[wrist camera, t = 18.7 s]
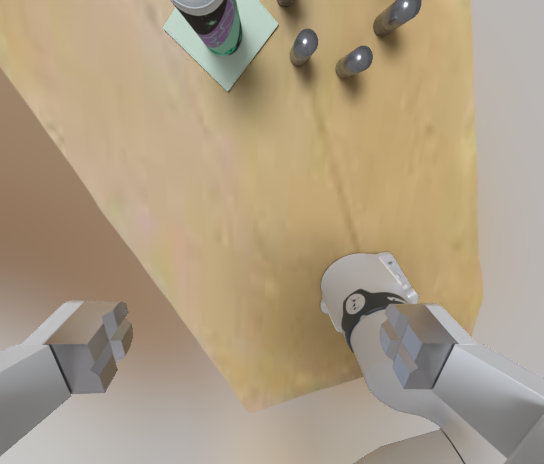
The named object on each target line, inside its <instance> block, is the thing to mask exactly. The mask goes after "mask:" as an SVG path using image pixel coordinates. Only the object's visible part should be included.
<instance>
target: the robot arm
mask: <svg viewBox="0 0 544 464" xmlns="http://www.w3.org/2000/svg"><path fill="white" fill-rule="evenodd" d="M390 261H391V262H390ZM388 262H390V263H388ZM321 292H322V300H321V303H320V308H321V310H322V312H324V313H326V314H328V315H329V316H330V318H331V320H332V323H333V325H334V327H335V329H336V330H337V331H338V332H341V333H342V334H344V338H345V340H346V342H347V344H348V345H349V347H350V349H351V351H352V352H353V353H354V354H355V356H356V359H357V361H358V364H359V366H360V369H361V371H362V374H363V377H364V379H365V381H366V384H367V386H368V388H369V390H370V391H371V392H372V394H373V395H374V396H375V397H376V398H377V399H378V400H380V401H381V402H383V403H384V404H385V405H387V406H389V407H391V408H393V409H395V410H398V411H401V412H404V413H409V414H414V415H418V416H421V417H424V418H426V419H428V420H430V421H432V422H434V423H435V424H437V425H438V426H439V427H441V428H440V430H437V431H433V432H430V433H426V434H423V435H419V436H416V437H412V438H409V439H406V440H402V441H398V442H395V443H392V444H388V445H384V446H381V447H379V448H378V449H376V450H374V451H373V452H371V453H369V454H367V455H366V456H364V457H362V458H361V459H359V460H358V461H356V462H355V463H353V464H544V377H542V376H540V375H538V374H536V373H534V372H533V371H531V370H529V369H527V368H525V367H524V366H522V365H520V364H518V363H516V362H514V361H513V360H511V359H509V358H507V357H505V356H503V355H502V354H500V353H498V352H496V351H494V350H493V349H491V348H489V347H487V346H485V345H484V344H477V343H476V342H475V341H474V340H473V339H472V337H471V336H470V335H469V334H468V333H467V332H466V331H465V330H464V329H463V328H462V327H461V326H460V325H459V324H458V323H457V322H456V321H455V320H454V319H453V318H452V317H451V316H450V314H449V313H448V312H447V311H446V310H445V309H444V308H443V307H442V306H440V305H438V304H436V303H428V304H417V302H418V297H419V296H418V295H417V293H416V292H415V291H414V290H413V288H412V287H411V285H410V283H409V282H408V280H407V278H406V277H405V275H404V273H403V272H402V270H401V268H400V267H399V265H398V263H397V262H396V260H395V258H394V257H393V255H392V254H391V253H390V252H383V253H378V254H365V253H357V254H351V255H348V256H345V257H343V258H341V259H339V260H337V261H336V262H334V263H333V264H332V265H331V266H330V267H329V268H328V269H327V270H326V272H325V273H324V275H323V278H322V281H321ZM127 314H128V308H127V305H126V303H124V302H117V301H75V300H73V301H72V300H71V301H68V302H65V303H64V304H63V305H62V306H61V307H60V308H59V309H58V310H56V311H55V312H54V313H53V314H52V315H51V316H50V317H49V318H48V319H47V320H46V321H45V322H44V323H43V324H42V325H41V326H40V327H39V328H38V329H37V330H35V331H34V332H33V333H32V334H31V335H30V336H29V337H28V338H27V339H26V340H25V341H24V342H23V343H22V344H21V345H13V346H11V347H9V348H7V349H5V350H3V351H1V352H0V456H1V455H2V454H3V453H5V452H6V451H7V450H8V449H9V448H11V447H12V446H13V445H14V444H15V443H16V442H18V441H19V440H20V439H21V438H22V437H23V436H25V435H26V434H27V433H28V432H29V431H31V430H32V429H33V428H34V427H35V426H36V425H37V424H39V423H40V422H41V421H42V420H43V419H45V418H46V417H47V416H48V415H50V414H51V413H52V412H53V411H54V410H55V409H57V408H58V407H59V406H60V405H61V404H62V403H64V402H65V401H66V400H67V399H68V398H70V397H71V394H85V393H86V394H87V393H105V392H106V390H107V388H108V386H109V384H110V383H111V381H112V379H113V377H114V376H115V374H116V372H117V370H118V369H117V365H116V363H117V362H118V361H119V360H121V359H122V358H123V357H125V356H126V354H127V352H128V350H129V348H130V346H131V342H132V338H133V328H132V324H131V323H130V322H129V321H128V320H127V319H126V318H125V317H126V315H127Z"/></svg>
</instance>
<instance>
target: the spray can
mask: <svg viewBox="0 0 544 464" xmlns="http://www.w3.org/2000/svg"><path fill="white" fill-rule="evenodd" d="M171 2H172V3H173V4H174V5H175V7H176V8H177V9H178V11H179V12H180V13H181V14H182V16H183V17H184V18H185V20H186V21H187V22H188V23H189V25H190V26H191V27H192V28H193V30H194V31H195V32H196V34H197V35H198V36H199V37H200V39H201V40H202V41H203V43H204V44H205V45H206V46H207V48H208V49H209V50H210V51H211V52H212V53H213V54H215V55H217V56H220V57H229V56H231V55H233V54H234V53H236V52H237V50H238V49H239V47H240V45H241V42H242V26H241V21H240V16H239V11H238V7H237V2H236V0H171Z"/></svg>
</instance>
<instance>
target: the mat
mask: <svg viewBox="0 0 544 464" xmlns="http://www.w3.org/2000/svg"><path fill="white" fill-rule="evenodd" d="M236 2H237V7H238V11H239V16H240V21H241V26H242V42H241V45H240V47H239V49H238V50H237V52H236V53H234V54H233V55H231V56H229V57H220V56H217V55H215V54H213V53H212V52H211V51H210V50H209V49H208V48H207V46H206V45H205V44H204V43H203V41H202V40H201V39H200V37H199V36H198V35H197V34H196V32H195V31H194V30H193V28H192V27H191V26H190V25H189V23H188V22H187V21H186V20H185V18H184V17H183V16H182V14H181V13H180V12H179V11H178V9H177V8H176V7H175V9H174V11H173V12H172V14H171V16H170V17H169V19H168V20H167V22H166V24H165V25H164V27H163V29H164V30H165V31H166V32H167V33H168V34H169V35H170V36H171V37H172V38H173V39H174V40H175V41H176V42H177V43H178V44H179V45H180V46H182V47H183V48H184V49H185V50H186V51H187V52H188V53H189V54H190V55H191V56H192V57H193V58H194V59H195V60H196V61H197V62H198V63H199V64H200V65H201V66H202V67H203V68H204V69H205V70H206V71H207V72H208V73H209V74H210V75H211V76H212V77H213V78H214V79H215V80H216V81H217V82H218V83H219V84H220V85H221V86H222V87H223V88H224V89H225V90H226V91H227V92H228V91H229V90H230V88H231V87H232V86H233V84H234V83H235V82H236V80H237V79H238V78H239V76H240V75H241V74H242V73H243V71H244V70H245V69H246V67H247V66H248V65H249V63H250V62H251V61H252V59H253V58H254V57H255V55H256V54H257V53H258V51H259V50H260V49H261V47H262V46H263V45H264V43H265V42H266V41H267V39H268V38H269V37H270V35H271V34H272V33H273V31H274V30H275V29H276V27H277V26H278V23H277V22H276V20H275V19H274V18H273V17H272V16H271V15H270V13H269V12H268V11H267V10H266V9H265V7H264V6H263V5H262V4H261V3H260V1H259V0H236Z"/></svg>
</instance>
